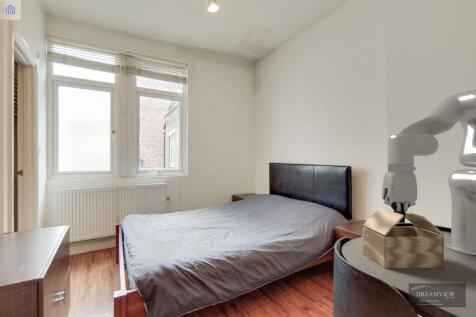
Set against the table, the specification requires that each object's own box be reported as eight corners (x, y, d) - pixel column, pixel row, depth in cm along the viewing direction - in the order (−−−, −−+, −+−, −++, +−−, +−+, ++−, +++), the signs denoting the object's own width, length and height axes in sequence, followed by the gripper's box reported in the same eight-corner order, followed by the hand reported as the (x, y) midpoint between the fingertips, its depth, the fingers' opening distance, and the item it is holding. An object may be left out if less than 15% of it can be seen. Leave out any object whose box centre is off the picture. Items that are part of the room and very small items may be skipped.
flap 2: (414, 225, 89) (414, 224, 89) (442, 235, 78) (443, 234, 78) (396, 210, 89) (397, 209, 89) (423, 217, 77) (424, 216, 77)
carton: (413, 253, 89) (414, 226, 89) (443, 267, 77) (443, 236, 78) (362, 253, 88) (363, 226, 88) (385, 268, 76) (385, 237, 76)
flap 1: (380, 208, 88) (379, 207, 88) (404, 216, 77) (403, 214, 77) (363, 225, 88) (362, 224, 88) (385, 235, 76) (384, 234, 76)
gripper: (412, 169, 87) (411, 219, 87) (373, 168, 86) (371, 219, 86) (429, 170, 80) (428, 225, 79) (387, 169, 79) (386, 224, 78)
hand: (399, 222), depth 83 cm, fingers closed
